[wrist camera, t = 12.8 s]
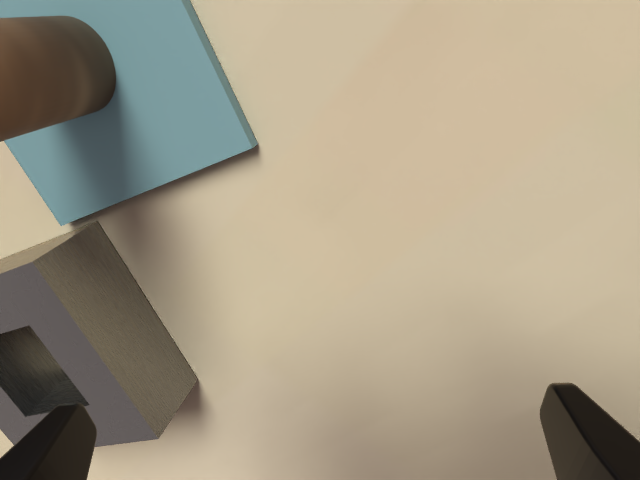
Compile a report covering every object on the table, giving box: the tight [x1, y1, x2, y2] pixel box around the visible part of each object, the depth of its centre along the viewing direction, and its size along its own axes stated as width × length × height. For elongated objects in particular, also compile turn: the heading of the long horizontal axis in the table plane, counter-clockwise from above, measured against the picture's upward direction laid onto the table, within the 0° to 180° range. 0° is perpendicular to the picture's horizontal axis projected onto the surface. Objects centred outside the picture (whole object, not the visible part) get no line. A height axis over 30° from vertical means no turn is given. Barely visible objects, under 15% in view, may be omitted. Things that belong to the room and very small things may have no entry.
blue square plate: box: [0, 0, 258, 226], centre depth 18 cm, size 11×11×1 cm
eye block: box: [0, 222, 198, 447], centre depth 24 cm, size 10×10×4 cm
